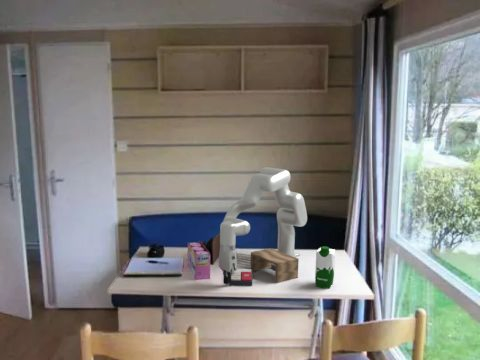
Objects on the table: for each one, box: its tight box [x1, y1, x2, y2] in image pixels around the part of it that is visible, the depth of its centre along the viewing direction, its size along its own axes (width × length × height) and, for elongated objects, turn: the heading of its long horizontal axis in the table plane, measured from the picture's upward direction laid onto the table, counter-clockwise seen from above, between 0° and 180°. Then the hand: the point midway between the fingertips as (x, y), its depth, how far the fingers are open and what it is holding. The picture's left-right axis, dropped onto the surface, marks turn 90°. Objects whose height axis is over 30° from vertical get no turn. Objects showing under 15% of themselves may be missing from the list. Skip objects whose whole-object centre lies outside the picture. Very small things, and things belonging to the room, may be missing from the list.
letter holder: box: [201, 232, 220, 266], centre depth 268 cm, size 10×20×14 cm, turn 171°
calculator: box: [229, 268, 253, 287], centre depth 235 cm, size 11×4×15 cm
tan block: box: [249, 247, 299, 284], centre depth 244 cm, size 14×22×10 cm, turn 36°
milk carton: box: [314, 245, 336, 290], centre depth 229 cm, size 9×9×20 cm
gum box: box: [187, 241, 211, 281], centre depth 246 cm, size 24×8×14 cm, turn 17°
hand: (227, 283), depth 228 cm, fingers closed
